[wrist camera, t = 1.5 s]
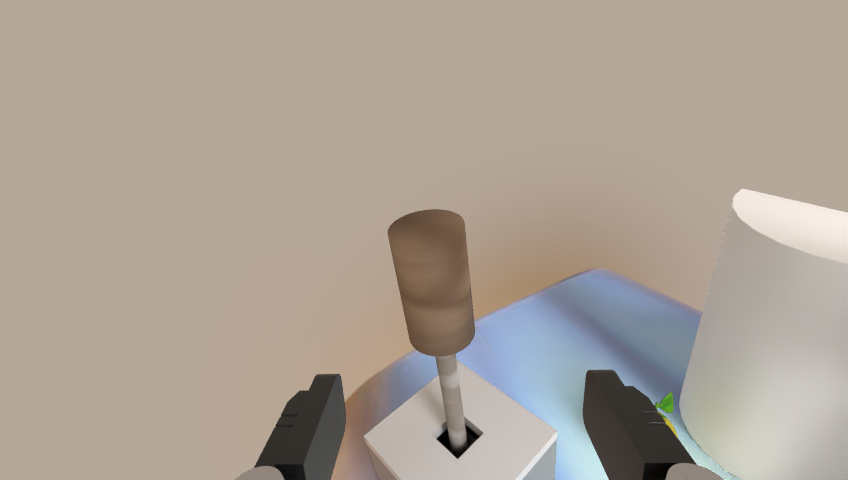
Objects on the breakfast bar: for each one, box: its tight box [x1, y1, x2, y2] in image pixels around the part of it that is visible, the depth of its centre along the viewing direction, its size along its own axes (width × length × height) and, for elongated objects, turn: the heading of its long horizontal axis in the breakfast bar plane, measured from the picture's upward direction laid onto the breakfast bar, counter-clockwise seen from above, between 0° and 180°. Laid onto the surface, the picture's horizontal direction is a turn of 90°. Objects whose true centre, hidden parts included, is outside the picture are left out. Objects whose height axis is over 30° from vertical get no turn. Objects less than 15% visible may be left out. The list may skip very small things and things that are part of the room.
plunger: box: [388, 209, 476, 459], centre depth 29 cm, size 8×8×27 cm
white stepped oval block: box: [679, 189, 848, 480], centre depth 40 cm, size 17×17×28 cm
